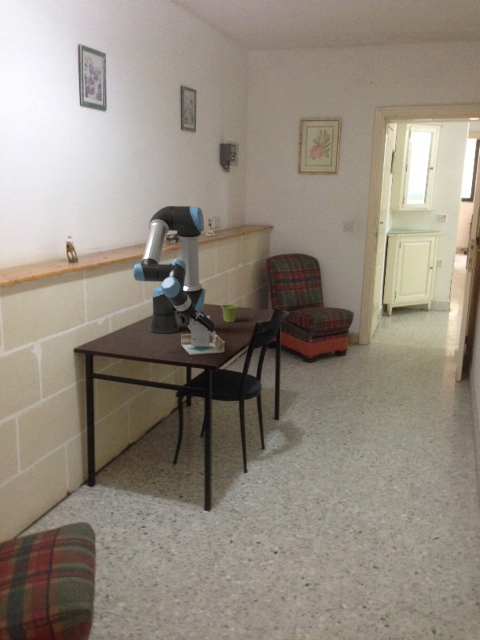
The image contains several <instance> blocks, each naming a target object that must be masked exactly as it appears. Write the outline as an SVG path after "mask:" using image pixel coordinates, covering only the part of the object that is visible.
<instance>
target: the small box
mask: <svg viewBox="0 0 480 640" xmlns="http://www.w3.org/2000/svg"><path fill="white" fill-rule="evenodd" d="M206 316H207V317H208V318H209V319H210V320H211V316H210V315H206ZM197 317H198V316H197ZM196 319H197V318H196ZM190 321H191V330H190V334H191V346H209V343H210V334H209V332H208V331H207V328H206V327H204V326H203V325H202V324H200V323H199V322H198V321H197V322H196V321H195V320H193V319H190Z"/></svg>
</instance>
